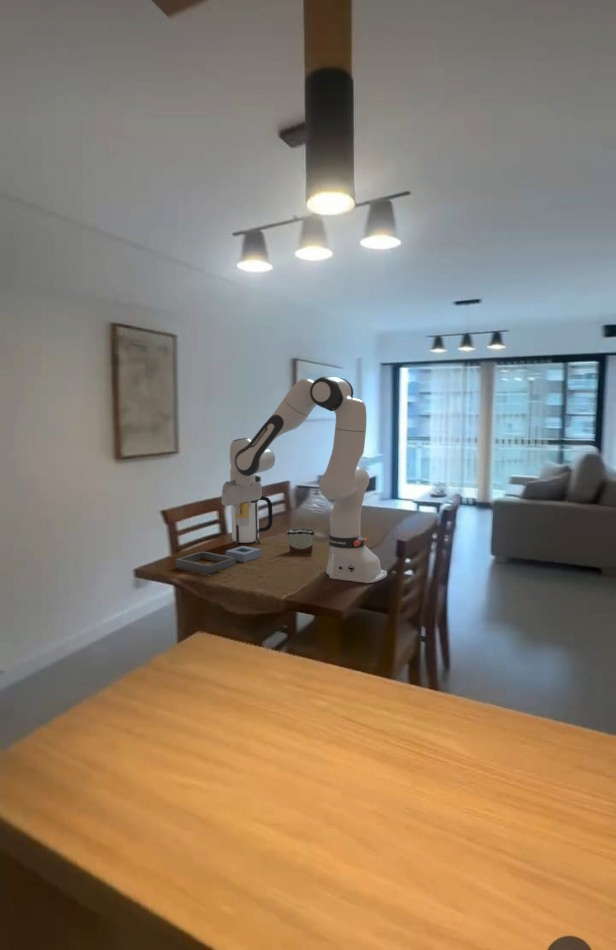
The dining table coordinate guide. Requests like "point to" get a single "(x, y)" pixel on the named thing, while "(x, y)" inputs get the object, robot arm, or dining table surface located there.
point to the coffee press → (250, 524)
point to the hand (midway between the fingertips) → (242, 513)
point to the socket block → (244, 553)
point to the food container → (300, 539)
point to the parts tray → (189, 565)
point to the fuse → (243, 515)
